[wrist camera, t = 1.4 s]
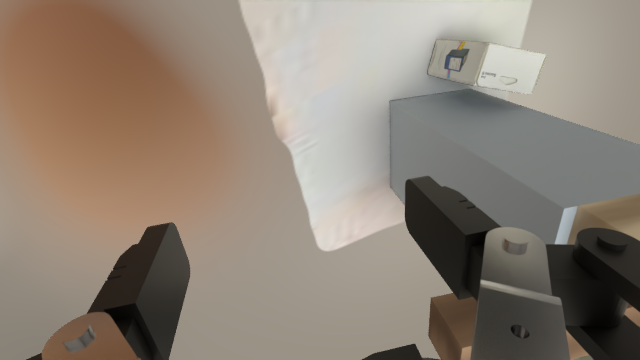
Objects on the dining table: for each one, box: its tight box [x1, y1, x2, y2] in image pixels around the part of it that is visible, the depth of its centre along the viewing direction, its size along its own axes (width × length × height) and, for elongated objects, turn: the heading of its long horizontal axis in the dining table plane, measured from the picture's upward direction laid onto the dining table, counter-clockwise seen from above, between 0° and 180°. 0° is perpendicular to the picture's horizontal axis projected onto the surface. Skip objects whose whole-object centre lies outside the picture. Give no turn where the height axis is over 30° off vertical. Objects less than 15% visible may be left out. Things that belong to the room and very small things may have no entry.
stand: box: [390, 89, 640, 244], centre depth 40 cm, size 15×13×32 cm
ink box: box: [428, 40, 547, 94], centre depth 44 cm, size 9×5×12 cm, turn 81°
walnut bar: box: [429, 293, 640, 360], centre depth 24 cm, size 4×22×4 cm, turn 96°
